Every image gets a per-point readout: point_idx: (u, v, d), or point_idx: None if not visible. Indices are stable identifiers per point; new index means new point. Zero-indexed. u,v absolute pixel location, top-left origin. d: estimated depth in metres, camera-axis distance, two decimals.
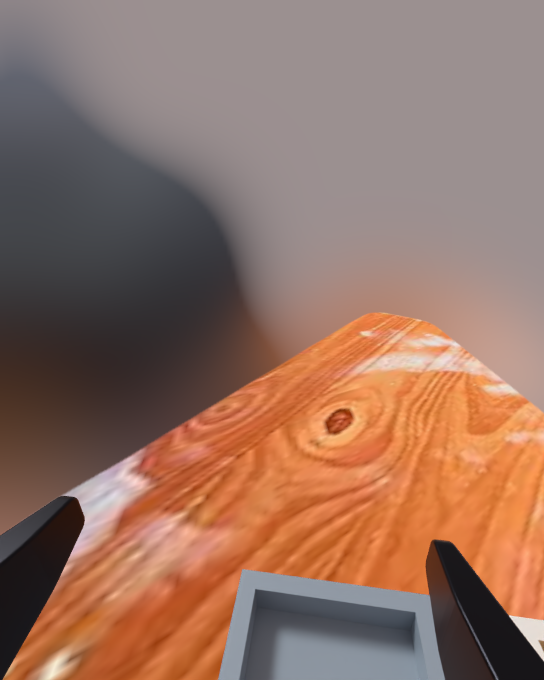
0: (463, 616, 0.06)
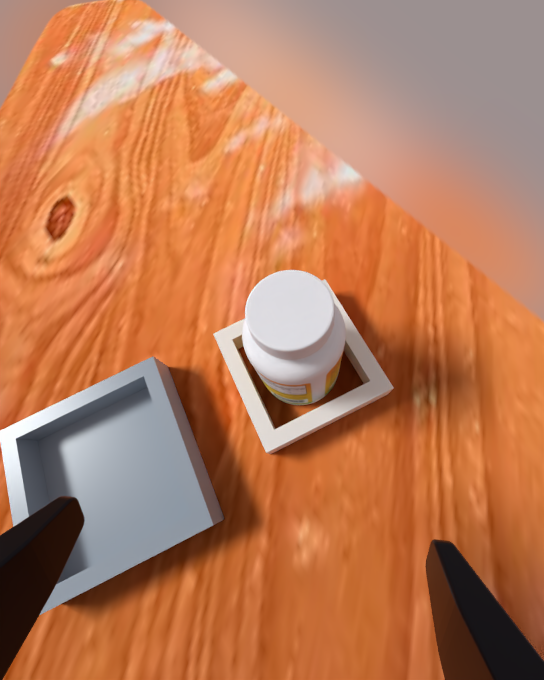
0: (463, 616, 0.06)
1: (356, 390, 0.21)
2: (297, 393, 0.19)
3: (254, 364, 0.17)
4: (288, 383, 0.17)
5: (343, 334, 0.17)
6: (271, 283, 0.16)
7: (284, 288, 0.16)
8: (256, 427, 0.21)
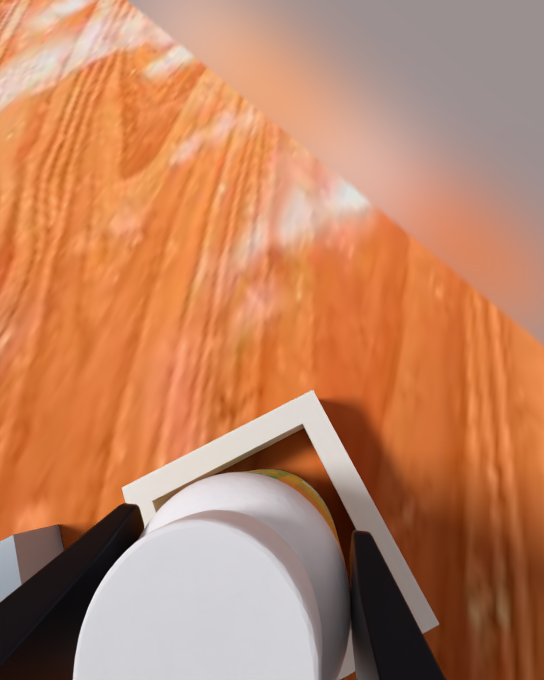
0: (361, 601, 0.06)
1: None
2: None
3: None
4: None
5: (345, 629, 0.07)
6: (152, 564, 0.06)
7: (185, 588, 0.06)
8: None
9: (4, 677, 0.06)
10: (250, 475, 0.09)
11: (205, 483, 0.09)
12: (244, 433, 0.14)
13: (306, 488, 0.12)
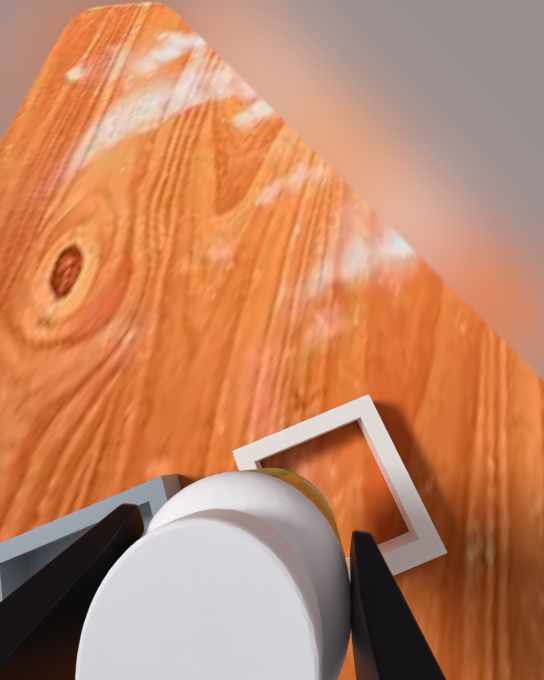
0: (361, 601, 0.06)
1: (401, 550, 0.18)
2: None
3: None
4: None
5: (346, 627, 0.07)
6: (153, 563, 0.06)
7: (186, 586, 0.06)
8: None
9: (3, 676, 0.06)
10: (251, 474, 0.09)
11: (207, 482, 0.09)
12: (319, 420, 0.20)
13: (308, 487, 0.12)
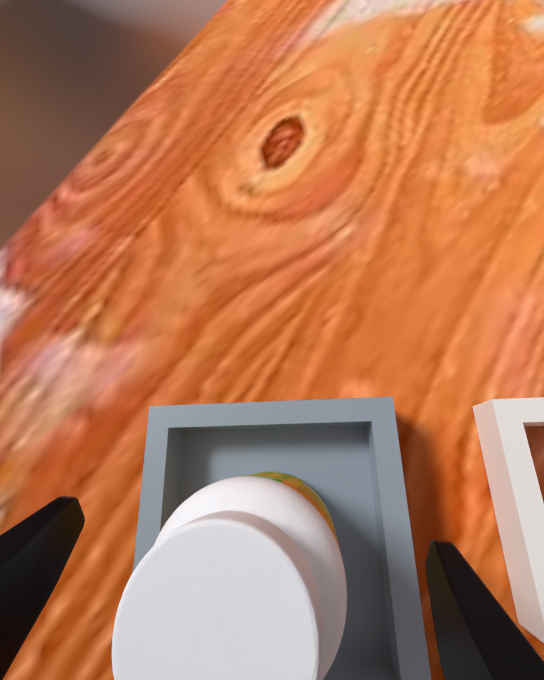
0: (463, 616, 0.06)
1: None
2: None
3: None
4: None
5: (342, 615, 0.08)
6: (177, 557, 0.07)
7: (206, 577, 0.07)
8: (539, 593, 0.13)
9: None
10: (257, 479, 0.10)
11: (218, 486, 0.10)
12: None
13: (307, 490, 0.13)
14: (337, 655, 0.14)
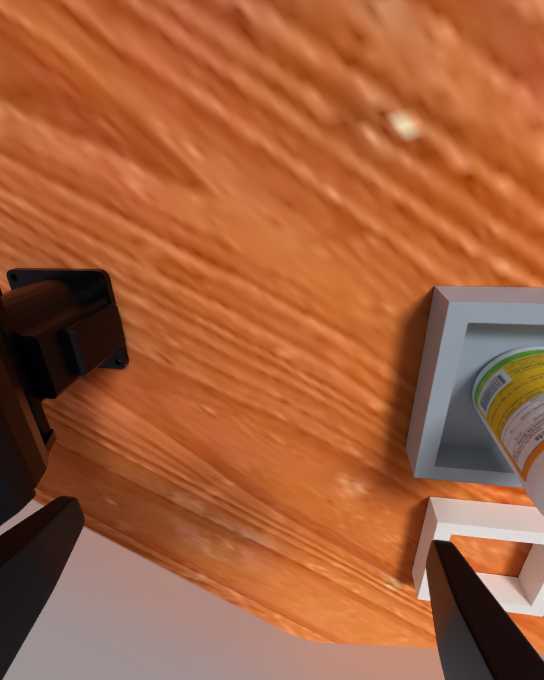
0: (463, 616, 0.06)
1: None
2: (505, 435, 0.16)
3: None
4: (535, 469, 0.13)
5: None
6: None
7: None
8: (463, 525, 0.22)
9: None
10: None
11: None
12: None
13: None
14: None
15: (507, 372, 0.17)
